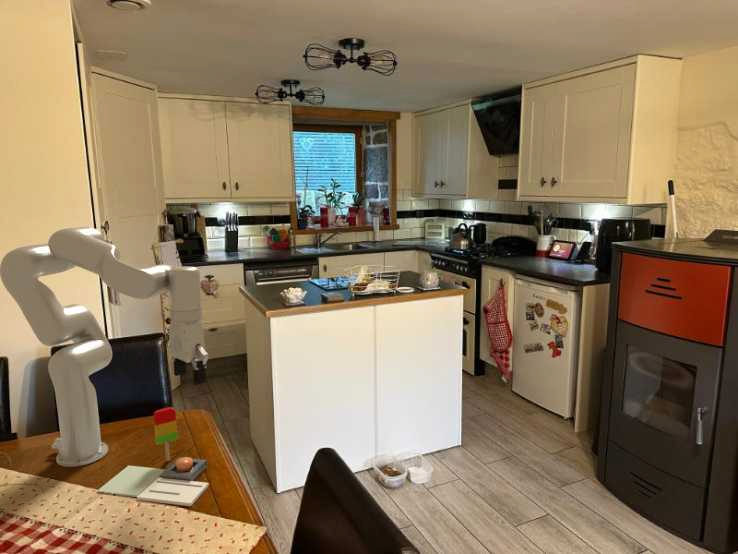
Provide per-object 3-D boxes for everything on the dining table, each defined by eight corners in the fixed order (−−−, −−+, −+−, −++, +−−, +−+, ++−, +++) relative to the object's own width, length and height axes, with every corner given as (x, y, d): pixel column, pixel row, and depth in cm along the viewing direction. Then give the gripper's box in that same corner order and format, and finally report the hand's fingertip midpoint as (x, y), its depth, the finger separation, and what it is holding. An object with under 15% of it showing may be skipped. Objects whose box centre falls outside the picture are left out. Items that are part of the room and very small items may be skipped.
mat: (97, 493, 125) (96, 490, 125) (128, 467, 137) (128, 465, 136) (137, 497, 123) (137, 495, 123) (166, 471, 134) (165, 469, 134)
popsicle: (158, 465, 137) (154, 413, 135) (156, 462, 139) (152, 410, 137) (179, 459, 141) (175, 407, 138) (177, 456, 142) (173, 405, 140)
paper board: (137, 499, 122) (136, 496, 122) (158, 480, 130) (158, 477, 130) (190, 506, 119) (190, 502, 119) (208, 485, 128) (208, 482, 128)
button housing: (162, 480, 130) (161, 473, 130) (179, 464, 138) (179, 457, 138) (191, 483, 129) (190, 476, 128) (206, 467, 137) (206, 460, 136)
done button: (173, 471, 132) (172, 464, 131) (181, 463, 136) (181, 456, 135) (187, 472, 131) (187, 465, 131) (195, 464, 135) (195, 457, 134)
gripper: (156, 312, 134) (160, 374, 136) (190, 323, 122) (194, 391, 125) (182, 307, 139) (186, 367, 142) (218, 318, 128) (220, 383, 131)
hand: (189, 378), depth 133 cm, fingers open, 9 cm apart
